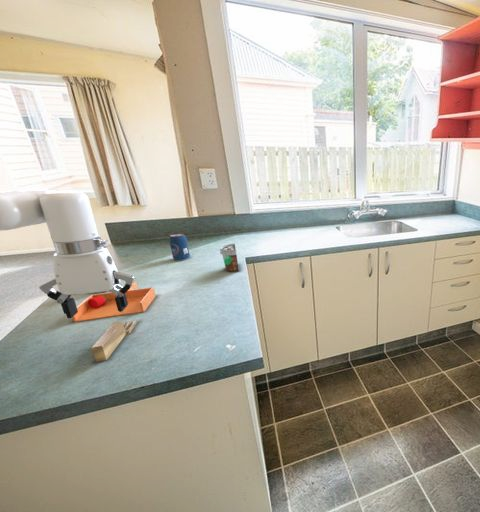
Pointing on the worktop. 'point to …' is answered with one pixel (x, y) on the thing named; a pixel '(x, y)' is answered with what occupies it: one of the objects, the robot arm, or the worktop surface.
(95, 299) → the strawberry
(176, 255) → the soda can
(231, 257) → the food container
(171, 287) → the worktop surface
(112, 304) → the dustpan
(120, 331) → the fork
